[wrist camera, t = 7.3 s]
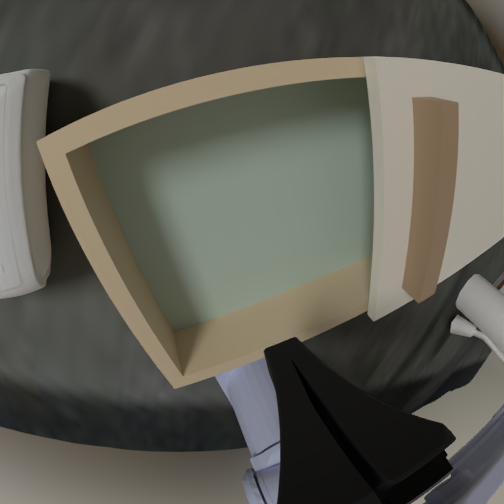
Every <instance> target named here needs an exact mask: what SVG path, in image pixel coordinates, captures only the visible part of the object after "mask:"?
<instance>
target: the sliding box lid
mask: <svg viewBox="0 0 504 504" xmlns="http://www.w3.org/2000/svg"><path fill="white" fill-rule="evenodd" d="M363 59H364V66H365V72H366V80H367V88H368V96H369V106H370V117H371V129H372V145H373V167H374V231H373V254H372V270H371V283H370V294H369V304H368V313H367V315H368V316H369V317H370V318H371V319H372V320H373V321H376V320H378V319H380V318H381V317H383V316H385V315H387V314H389V313H390V312H392V311H394V310H396V309H397V308H399V307H401V306H403V305H404V304H406V303H408V302H409V301H411V300H413V299H414V300H415V301H416V302H417V303H420V302H422V301H424V300H425V299H427V298H428V297H430V296H431V295H433V294H435V291H436V287H437V284H438V283H440V282H442V281H443V280H445V279H446V278H448V277H449V276H451V275H452V274H454V273H455V272H457V271H458V270H460V269H461V268H462V267H464V266H465V265H467V264H468V263H470V262H471V261H472V260H474V259H475V258H477V257H478V256H479V255H481V254H482V253H483V252H485V251H486V250H487V249H489V248H490V247H491V246H493V245H494V244H495V243H497V242H498V241H499V240H500V239H502V238H503V237H504V74H501V73H497V72H493V71H489V70H484V69H480V68H475V67H470V66H465V65H459V64H453V63H446V62H439V61H432V60H423V59H412V58H398V57H363Z"/></svg>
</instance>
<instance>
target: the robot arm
mask: <svg viewBox="0 0 504 504" xmlns="http://www.w3.org/2000/svg"><path fill="white" fill-rule="evenodd" d="M264 355H265V357H264V358H262V359H259V360H257V361H254V362H251V363H249V364H246V365H243V366H241V367H238V368H235V369H233V370H230V371H227V372H224V373H221V374H219V375H216V376H215V377H216V379H217V381H218V383H219V384H220V386H221V388H222V389H223V391H224V393H225V394H226V396H227V398H228V399H229V401H230V403H231V404H232V406H233V408H234V411H235V413H236V416H237V419H238V422H239V424H240V427H241V430H242V432H243V435H244V437H245V440H246V443H247V445H248V448H249V450H250V453H251V455H252V458H250V461H251V463H252V466H253V468H254V469H253V468H251V469H247V470H246V471H245V475H244V476H243V479H242V480H243V486H244V489H245V492H246V495H247V498H248V501H249V503H250V504H411V503H412V502H414V501H415V500H417V499H418V498H420V497H421V496H422V495H424V494H425V493H427V492H428V491H429V490H431V489H432V488H433V487H435V486H436V485H437V484H438V483H440V482H441V481H442V480H444V479H445V478H446V477H447V476H448V475H450V474H451V477H450V478H449V479H447V480H446V481H444V482H442V483H441V484H439V485H438V486H437V487H435V489H433V490H432V491H431V492H430V493H428V494H427V495H426V496H425V498H424V499H425V500H426V502H425V503H423V504H487V502H488V501H489V500H490V499H491V497H492V496H493V495H494V494H495V493H496V491H497V490H498V489H499V487H500V486H501V485H502V483H503V482H504V405H503V406H502V407H501V408H500V409H499V410H498V411H497V413H496V414H495V415H494V416H493V418H492V419H491V420H490V421H489V422H488V423H487V424H486V426H485V427H484V428H482V430H480V431H479V433H477V434H476V435H475V436H474V437H473V439H471V440H470V441H469V442H468V443H467V444H466V445H465V446H464V447H462V449H460V450H459V451H458V452H457V453H456V454H455V455H453V456H452V457H451V458H450V459H449V460H447V459H446V456H447V453H446V452H445V449H446V448H447V447H448V446H449V445H450V444H452V443H453V442H454V441H455V440H456V437H455V436H454V435H453V434H452V432H451V431H450V430H449V429H448V428H447V427H446V426H445V425H444V424H442V423H439V422H434V421H431V420H427V419H424V418H421V417H418V416H415V415H412V414H410V413H407V412H405V411H402V410H400V409H397V408H395V407H393V406H391V405H388V404H386V403H384V402H382V401H380V400H378V399H376V398H374V397H373V396H371V395H369V394H367V393H365V392H364V391H362V390H361V389H359V388H357V387H356V386H354V385H353V384H351V383H350V382H348V381H347V380H345V379H344V378H343V377H341V376H340V375H338V374H337V373H336V372H335V371H333V370H332V369H331V368H329V367H328V366H327V365H326V364H324V363H323V362H322V361H321V360H320V359H319V358H317V357H316V356H315V355H314V354H313V353H312V352H311V351H310V350H309V349H308V348H307V347H306V346H305V345H304V344H303V343H302V342H301V341H300V340H299V339H298V338H297V337H293V338H290V339H288V340H285V341H283V342H280V343H278V344H275V345H273V346H270V347H267V348H265V350H264Z"/></svg>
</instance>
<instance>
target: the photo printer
mask: <svg viewBox="0 0 504 504" xmlns="http://www.w3.org/2000/svg"><path fill="white" fill-rule="evenodd" d="M50 76H51V73H50V71H48V70H45V69H26V70H21V71H16V72H11V73H6V74H1V75H0V299H3V298H10V297H16V296H21V295H25V294H28V293H31V292H34V291H36V290H39V289H41V288H43V287H45V286H46V281H47V278H48V276H49V275H50V269H51V240H50V231H49V223H48V213H47V198H46V180H45V165H44V162H43V160H42V157H41V154H40V151H39V148H38V146H37V143H36V142H37V141H38V140H40V139H42V138H44V137H45V135H46V115H47V102H48V93H49V84H50Z"/></svg>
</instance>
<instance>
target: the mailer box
mask: <svg viewBox="0 0 504 504" xmlns="http://www.w3.org/2000/svg"><path fill="white" fill-rule="evenodd" d="M36 143H37V146H38V148H39V151H40V154H41V157H42V160H43V162H44V165H45V168H46V170H47V173H48V175H49V178H50V180H51V183H52V185H53V188H54V190H55V192H56V195H57V197H58V199H59V201H60V204H61V206H62V208H63V210H64V213H65V215H66V217H67V219H68V221H69V223H70V225H71V227H72V229H73V231H74V233H75V235H76V237H77V239H78V241H79V243H80V245H81V247H82V249H83V251H84V253H85V255H86V257H87V258H88V260H89V262H90V264H91V266H92V268H93V269H94V271H95V273H96V275H97V276H98V278H99V280H100V282H101V283H102V285H103V287H104V288H105V290H106V292H107V293H108V295H109V297H110V298H111V300H112V301H113V303H114V305H115V306H116V308H117V309H118V311H119V313H120V314H121V316H122V317H123V319H124V320H125V322H126V323H127V325H128V326H129V328H130V329H131V331H132V332H133V334H134V335H135V337H136V338H137V339H138V341H139V342H140V344H141V345H142V347H143V348H144V349H145V351H146V352H147V353H148V355H149V356H150V358H151V359H152V360H153V362H154V363H155V364H156V366H157V367H158V368H159V370H160V371H161V372H162V373H163V375H164V376H165V377H166V379H167V380H168V381H169V382H170V384H171V385H172V386H173V387H174V389H176V388H179V387H182V386H186V385H189V384H192V383H195V382H198V381H201V380H204V379H207V378H210V377H213V376H216V375H219V374H221V373H224V372H227V371H230V370H233V369H235V368H238V367H241V366H243V365H246V364H249V363H251V362H254V361H257V360H259V359H262V358H264V357H265V355H264V350H265V348H267V347H270V346H273V345H275V344H278V343H280V342H283V341H285V340H288V339H290V338H293V337H297V338H298V339H299V340H300V341H301V342H302V341H305V340H307V339H309V338H311V337H314V336H316V335H318V334H320V333H322V332H325V331H327V330H329V329H331V328H333V327H335V326H337V325H339V324H341V323H344V322H346V321H348V320H350V319H352V318H354V317H356V316H358V315H360V314H362V313H364V312H366V311H368V304H369V294H370V283H371V270H372V254H373V231H374V167H373V145H372V129H371V117H370V106H369V96H368V88H367V80H366V72H365V66H364V59H363V57H338V58H319V59H306V60H295V61H286V62H278V63H271V64H264V65H257V66H251V67H246V68H240V69H235V70H230V71H225V72H220V73H216V74H211V75H207V76H203V77H199V78H195V79H191V80H187V81H184V82H180V83H177V84H173V85H170V86H166V87H163V88H160V89H157V90H154V91H151V92H148V93H145V94H142V95H139V96H136V97H133V98H130V99H128V100H125V101H122V102H120V103H117V104H115V105H112V106H110V107H107V108H105V109H102V110H100V111H98V112H95V113H93V114H91V115H88V116H86V117H84V118H82V119H80V120H77V121H75V122H73V123H71V124H69V125H67V126H65V127H63V128H61V129H59V130H57V131H55V132H53V133H51V134H49V135H48V136H46V137H44V138H42V139H40V140H38V141H37V142H36Z"/></svg>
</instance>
